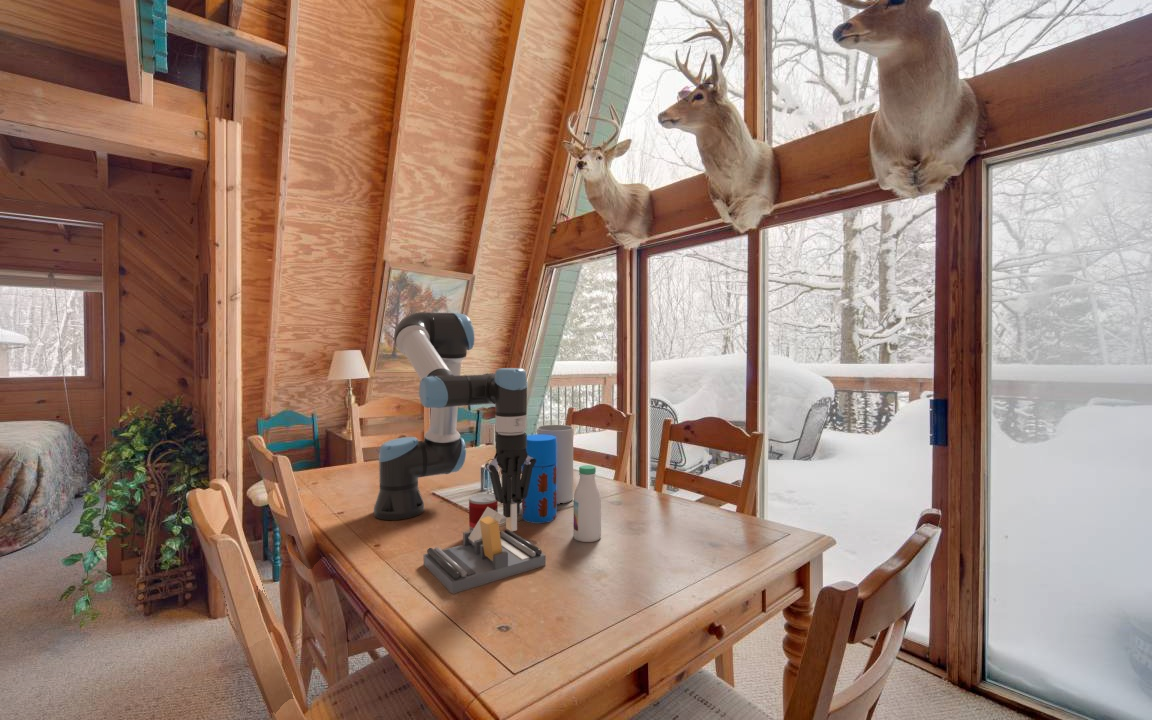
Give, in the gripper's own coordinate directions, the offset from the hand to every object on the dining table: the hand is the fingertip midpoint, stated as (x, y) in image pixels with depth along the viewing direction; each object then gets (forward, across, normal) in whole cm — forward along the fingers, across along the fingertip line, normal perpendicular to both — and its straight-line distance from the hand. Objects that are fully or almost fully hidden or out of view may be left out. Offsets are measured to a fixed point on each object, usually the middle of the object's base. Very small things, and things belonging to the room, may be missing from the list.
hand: (511, 529), depth 123 cm
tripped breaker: (+6, -5, 0) cm, 7 cm away
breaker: (+6, -5, +10) cm, 12 cm away
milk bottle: (+10, +26, +4) cm, 28 cm away
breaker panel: (+9, -5, +5) cm, 12 cm away
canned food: (+10, +3, +22) cm, 24 cm away
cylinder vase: (+10, +38, +38) cm, 55 cm away
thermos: (+10, +24, +26) cm, 37 cm away
